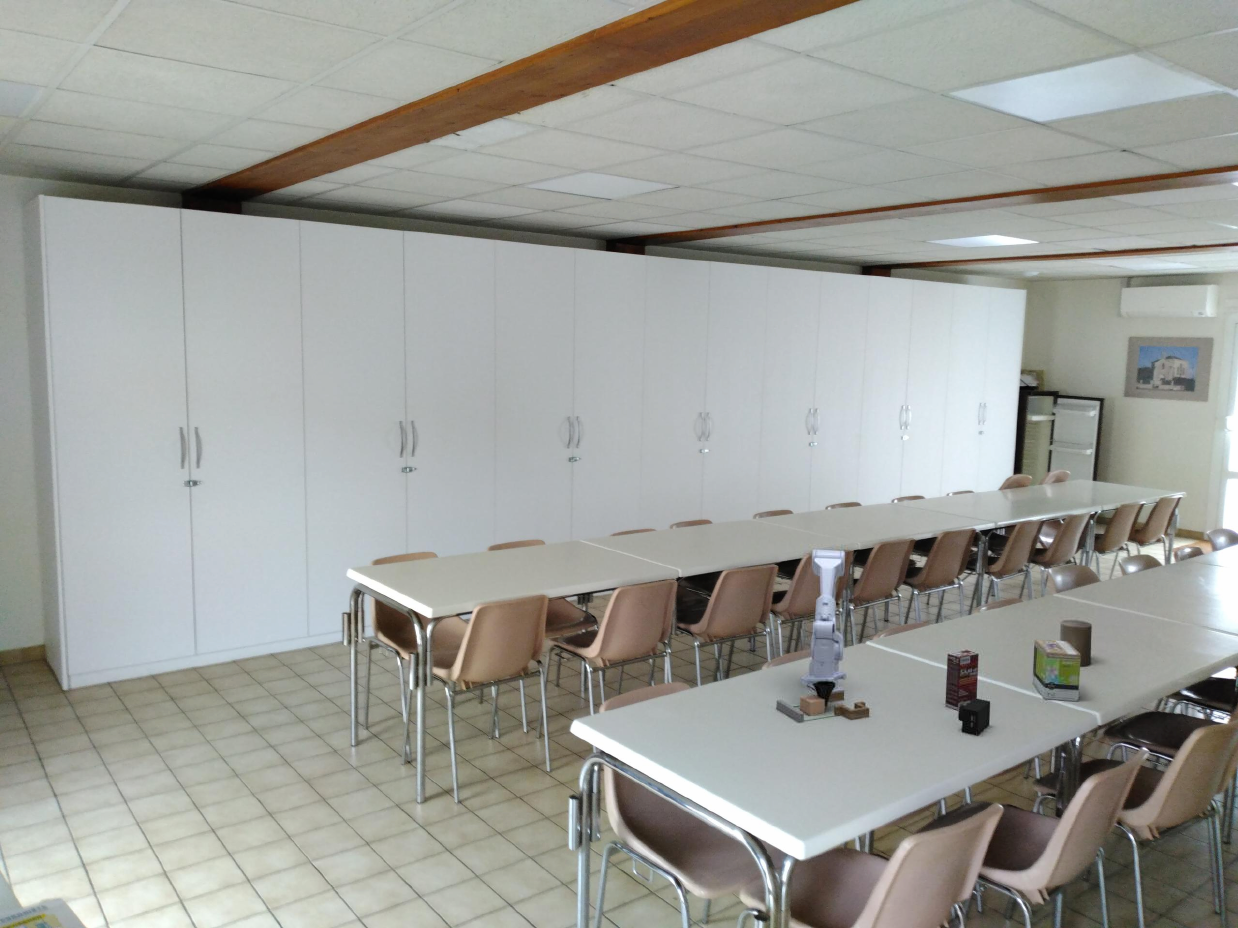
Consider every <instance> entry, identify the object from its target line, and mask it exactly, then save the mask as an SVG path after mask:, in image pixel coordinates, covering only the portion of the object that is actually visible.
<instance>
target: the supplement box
mask: <svg viewBox="0 0 1238 928" xmlns="http://www.w3.org/2000/svg"><path fill="white" fill-rule="evenodd" d="M946 660H947V661H946V681H945V682H946V684H945V704H944V705H945V706H946V707H948V708H950V709H953V710H956V711H959V708H960V706H961V705H965V706H966V705H967V704H968V703H970V702H971V701H972V700H973V699H974V698H977V699H978V677H979V676H978V675H979V653H977V652H974V651H972V650H968V649H965V650H960V651H956V652H951V653H947V659H946Z"/></svg>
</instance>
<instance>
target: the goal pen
mask: <svg viewBox="0 0 1238 928" xmlns="http://www.w3.org/2000/svg"><path fill="white" fill-rule="evenodd" d="M797 708H800V703H799V704H793V705H791V704H789V703H787V702H786V701H784V700H782V699H777V700H776V709H777V710H778V711H780V712H782V713H783V714H785V715H786V716H788V717H789V718H791V719H792V720H794V721H796V722H798V723H804V722H809V721H814V720H815V721H816V720H821V719H826V718H833V717H836V715H834V713H833V714H828V715H822V716H816V717H810V718H805V713H804V712H802V711H800V709H797Z"/></svg>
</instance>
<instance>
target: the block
mask: <svg viewBox="0 0 1238 928" xmlns="http://www.w3.org/2000/svg"><path fill="white" fill-rule="evenodd" d="M816 695H817V694H809V695H805V696H804V695H802V696H800V698H799V704H800V706H799V711H801V712H803V713H804V714H806V715H808V716H810V717H813V716H816V715H821V714H822V715H823V714H825V700H824V699H822V698H820V697H818V696H816Z"/></svg>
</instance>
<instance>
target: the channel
mask: <svg viewBox="0 0 1238 928" xmlns="http://www.w3.org/2000/svg"><path fill="white" fill-rule="evenodd" d="M815 695H816V696H817V694H815ZM844 700H845V690H844V691H836V692H832V693H831V695H830V698H829V701H828V703H833V702H839V701H844ZM853 705H854V707H853V709H852V708H850V707H848V706H846V705H845V704H839V705H834V706H833V714H834V715H835V717H837V716H842V717H844V718H846V719H848V720H850V721H853V720H860V719H863V718H869V717H870V707H868V706H866V702H864V701H857V702H854V704H853Z"/></svg>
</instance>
